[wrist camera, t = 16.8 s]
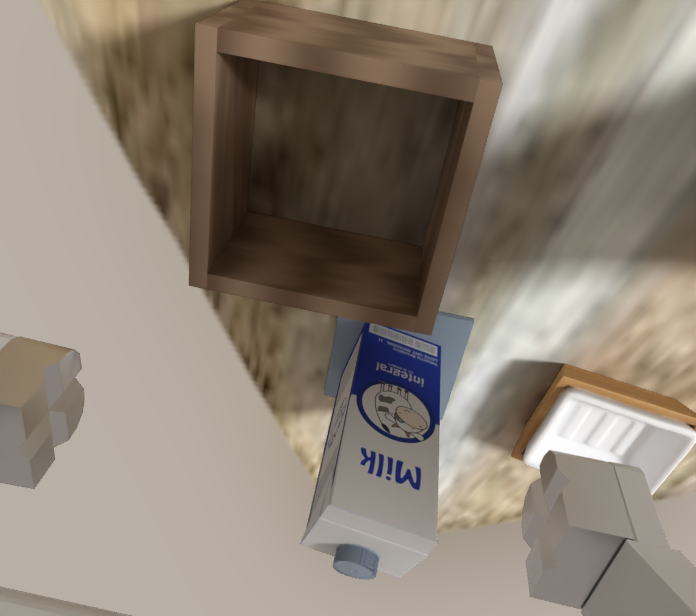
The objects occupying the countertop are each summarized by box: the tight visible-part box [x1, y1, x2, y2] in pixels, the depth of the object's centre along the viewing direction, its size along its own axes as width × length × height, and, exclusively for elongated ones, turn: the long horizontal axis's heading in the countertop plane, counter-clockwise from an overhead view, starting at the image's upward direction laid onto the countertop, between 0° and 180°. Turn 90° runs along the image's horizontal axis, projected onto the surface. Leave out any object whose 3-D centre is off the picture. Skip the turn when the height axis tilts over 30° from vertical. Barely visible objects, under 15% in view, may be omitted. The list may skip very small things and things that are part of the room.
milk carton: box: [300, 322, 441, 580], centre depth 48 cm, size 7×7×20 cm
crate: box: [189, 0, 503, 336], centre depth 42 cm, size 16×16×10 cm
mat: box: [324, 311, 474, 420], centre depth 56 cm, size 11×11×1 cm
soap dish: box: [511, 364, 696, 495], centre depth 55 cm, size 12×10×5 cm
